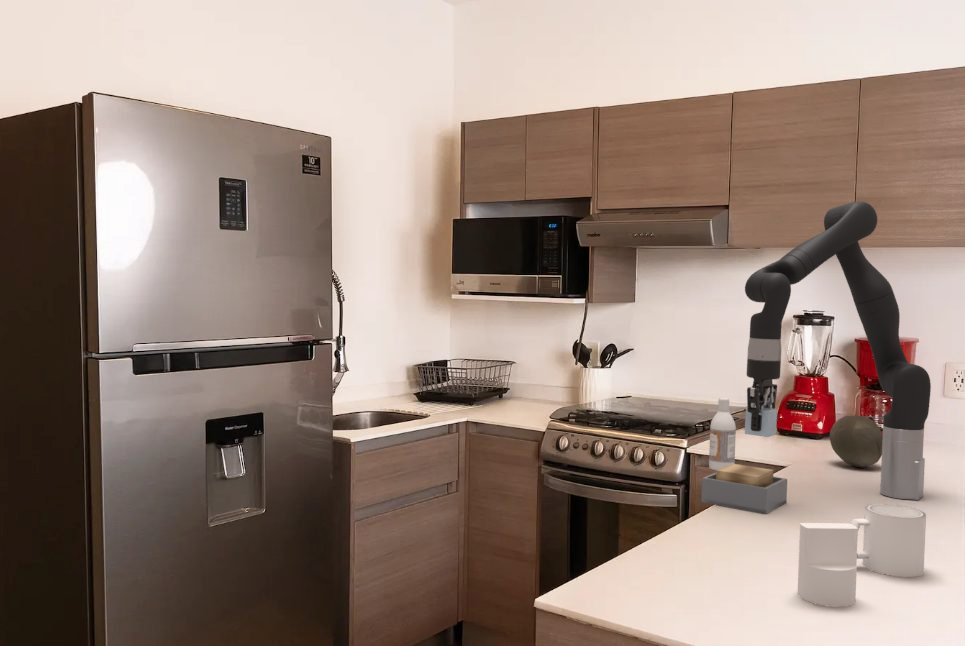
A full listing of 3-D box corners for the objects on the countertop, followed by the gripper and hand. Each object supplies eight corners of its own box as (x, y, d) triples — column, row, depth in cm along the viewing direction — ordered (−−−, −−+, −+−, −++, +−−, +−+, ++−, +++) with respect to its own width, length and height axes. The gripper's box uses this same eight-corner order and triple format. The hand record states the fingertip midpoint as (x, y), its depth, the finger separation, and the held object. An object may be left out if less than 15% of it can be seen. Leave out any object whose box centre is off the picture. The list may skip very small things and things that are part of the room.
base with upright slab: (840, 587, 146) (842, 518, 146) (865, 607, 137) (868, 534, 137) (788, 586, 146) (791, 518, 145) (810, 606, 137) (813, 533, 136)
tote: (786, 502, 203) (787, 478, 203) (766, 514, 193) (766, 488, 192) (724, 491, 213) (724, 468, 213) (701, 502, 202) (702, 478, 202)
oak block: (772, 498, 203) (773, 469, 203) (756, 506, 196) (758, 476, 195) (732, 491, 210) (733, 463, 209) (715, 499, 202) (716, 470, 202)
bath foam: (704, 466, 242) (706, 397, 241) (725, 465, 244) (727, 396, 243) (717, 472, 235) (720, 400, 234) (739, 471, 237) (741, 400, 236)
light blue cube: (775, 434, 200) (777, 409, 200) (768, 437, 196) (769, 411, 196) (753, 431, 204) (754, 406, 203) (744, 433, 199) (745, 408, 199)
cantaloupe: (872, 462, 252) (874, 412, 251) (890, 473, 238) (892, 420, 237) (823, 461, 253) (825, 411, 253) (838, 471, 239) (840, 418, 239)
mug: (864, 578, 151) (866, 519, 151) (835, 559, 161) (837, 504, 161) (935, 576, 153) (938, 518, 152) (902, 558, 163) (904, 503, 162)
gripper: (769, 360, 191) (765, 435, 192) (790, 357, 202) (786, 428, 203) (737, 358, 195) (733, 430, 196) (759, 355, 207) (755, 424, 208)
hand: (760, 429), depth 200 cm, fingers closed on light blue cube, 5 cm apart
